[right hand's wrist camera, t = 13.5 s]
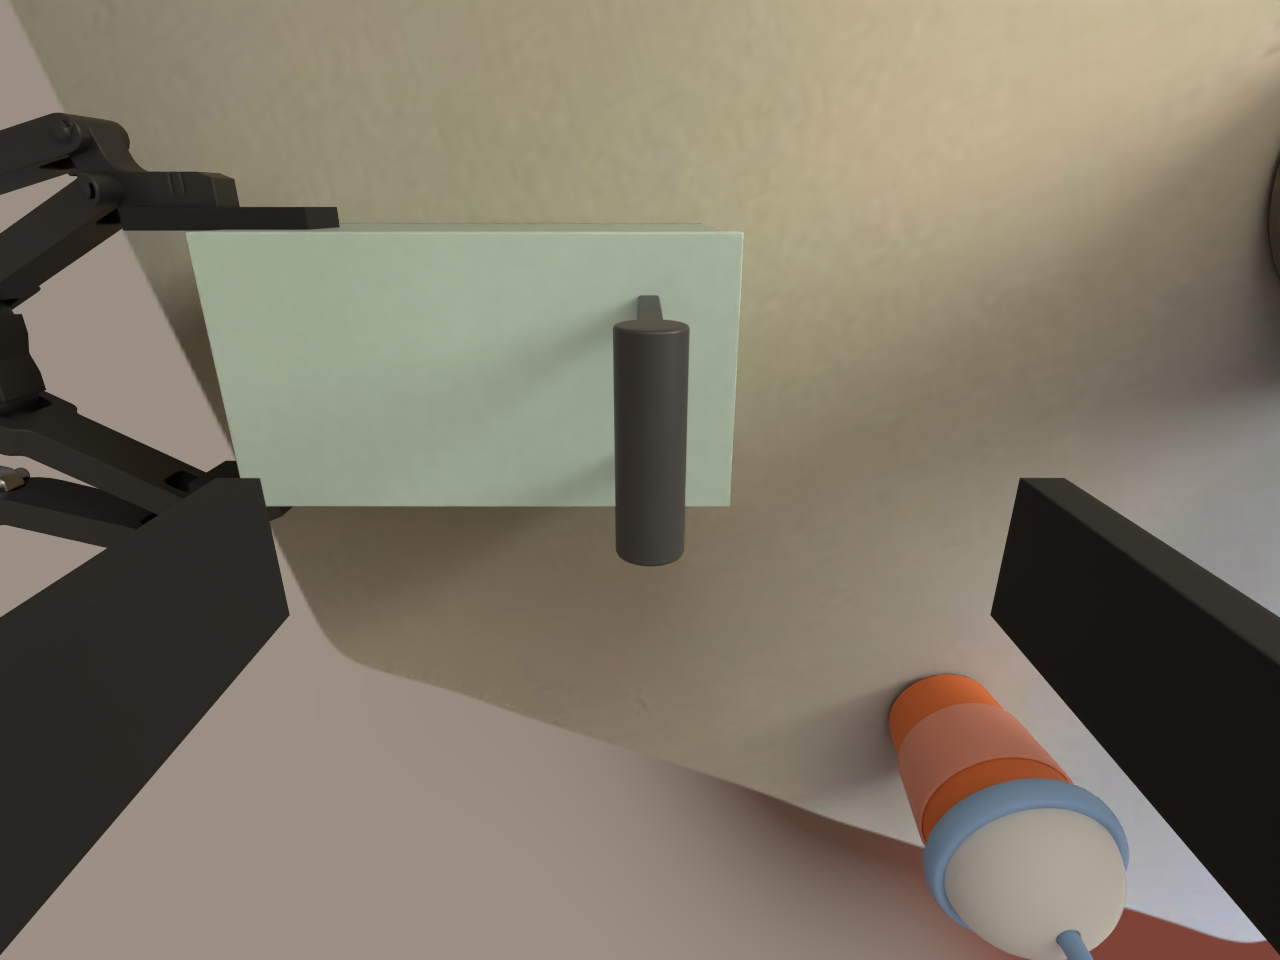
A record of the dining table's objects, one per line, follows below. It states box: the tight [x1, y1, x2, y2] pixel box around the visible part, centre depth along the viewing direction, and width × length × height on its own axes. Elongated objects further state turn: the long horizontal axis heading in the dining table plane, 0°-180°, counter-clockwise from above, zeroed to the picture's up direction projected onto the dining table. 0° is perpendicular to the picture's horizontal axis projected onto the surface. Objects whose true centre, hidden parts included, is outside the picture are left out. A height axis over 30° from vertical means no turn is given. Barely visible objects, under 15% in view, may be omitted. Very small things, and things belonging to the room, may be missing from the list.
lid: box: [185, 231, 744, 566], centre depth 21 cm, size 18×10×9 cm, turn 90°
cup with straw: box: [889, 674, 1129, 960], centre depth 34 cm, size 9×9×18 cm
